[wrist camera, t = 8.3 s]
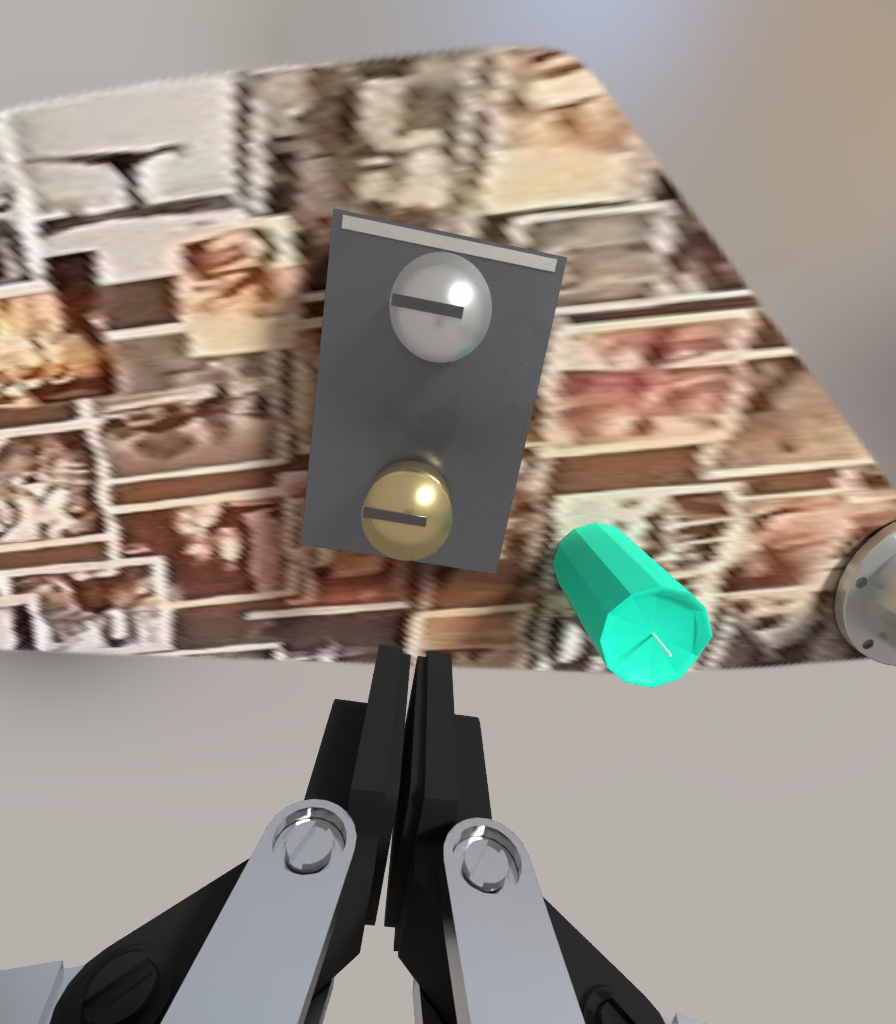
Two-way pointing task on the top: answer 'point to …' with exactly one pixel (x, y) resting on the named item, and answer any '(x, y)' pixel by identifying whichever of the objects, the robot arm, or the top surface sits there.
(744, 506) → the top surface
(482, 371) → the mount
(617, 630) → the candle
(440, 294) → the knob
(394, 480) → the knob
